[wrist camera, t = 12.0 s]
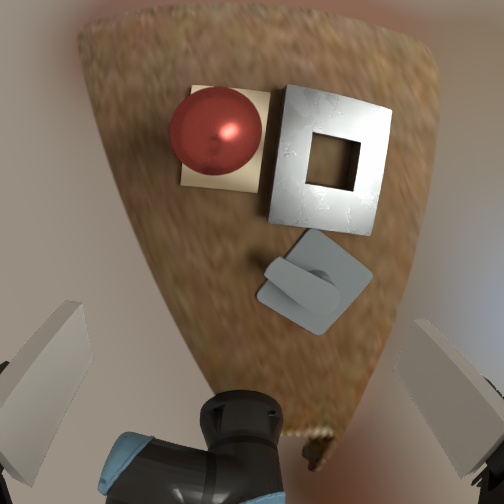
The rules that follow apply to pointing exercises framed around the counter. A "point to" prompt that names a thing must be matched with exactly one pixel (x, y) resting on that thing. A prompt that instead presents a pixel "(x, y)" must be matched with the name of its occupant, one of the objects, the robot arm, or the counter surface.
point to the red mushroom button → (215, 131)
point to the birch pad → (245, 175)
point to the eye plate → (297, 156)
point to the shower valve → (313, 282)
